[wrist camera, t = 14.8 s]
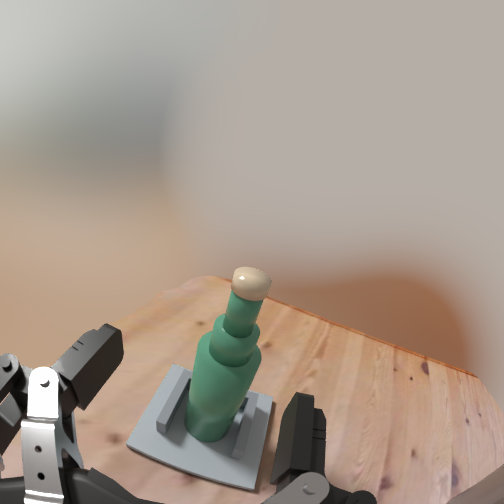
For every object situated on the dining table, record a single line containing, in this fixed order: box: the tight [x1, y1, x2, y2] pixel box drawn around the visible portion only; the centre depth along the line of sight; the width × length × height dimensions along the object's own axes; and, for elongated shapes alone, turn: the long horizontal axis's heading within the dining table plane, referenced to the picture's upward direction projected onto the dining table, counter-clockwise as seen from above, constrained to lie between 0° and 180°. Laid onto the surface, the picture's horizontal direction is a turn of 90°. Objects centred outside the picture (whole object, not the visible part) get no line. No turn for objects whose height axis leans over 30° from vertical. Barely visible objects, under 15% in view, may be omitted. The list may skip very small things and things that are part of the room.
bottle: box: [184, 267, 272, 442], centre depth 25 cm, size 6×6×23 cm
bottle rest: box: [126, 364, 273, 491], centre depth 29 cm, size 16×16×4 cm
